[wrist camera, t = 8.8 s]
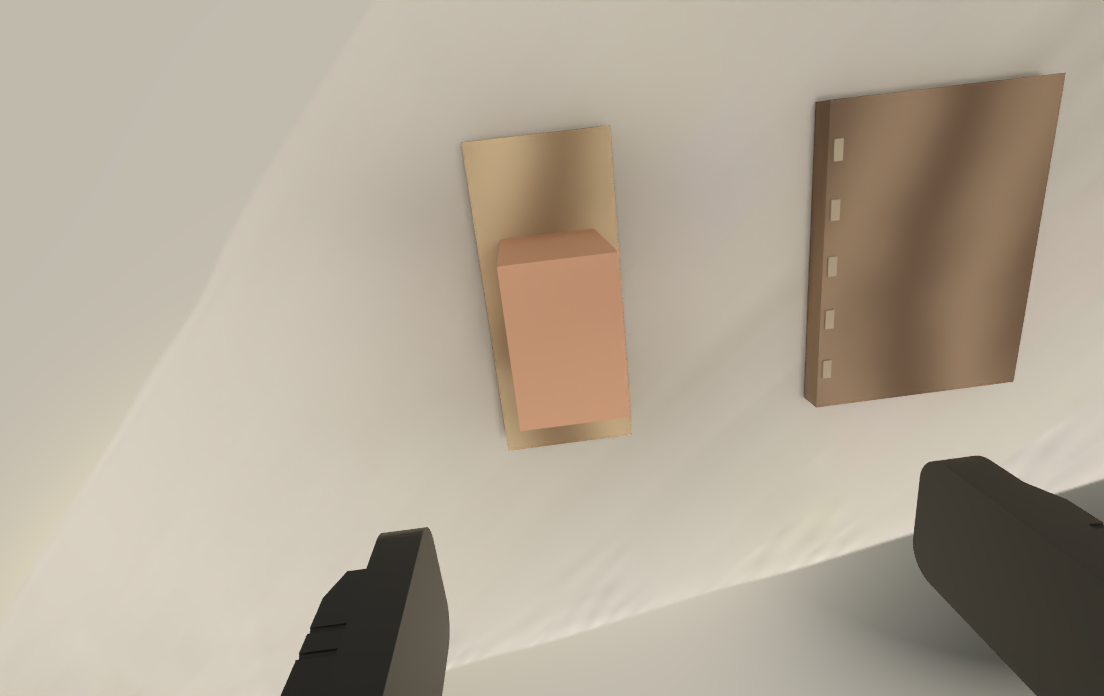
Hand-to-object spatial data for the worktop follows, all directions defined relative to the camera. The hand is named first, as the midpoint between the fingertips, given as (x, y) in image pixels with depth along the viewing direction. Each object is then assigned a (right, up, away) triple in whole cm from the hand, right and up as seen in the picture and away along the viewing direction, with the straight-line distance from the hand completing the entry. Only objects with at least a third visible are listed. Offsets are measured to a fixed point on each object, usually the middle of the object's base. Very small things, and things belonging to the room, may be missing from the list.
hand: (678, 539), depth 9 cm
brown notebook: (+15, +8, +18) cm, 25 cm away
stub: (-2, +6, +17) cm, 18 cm away
